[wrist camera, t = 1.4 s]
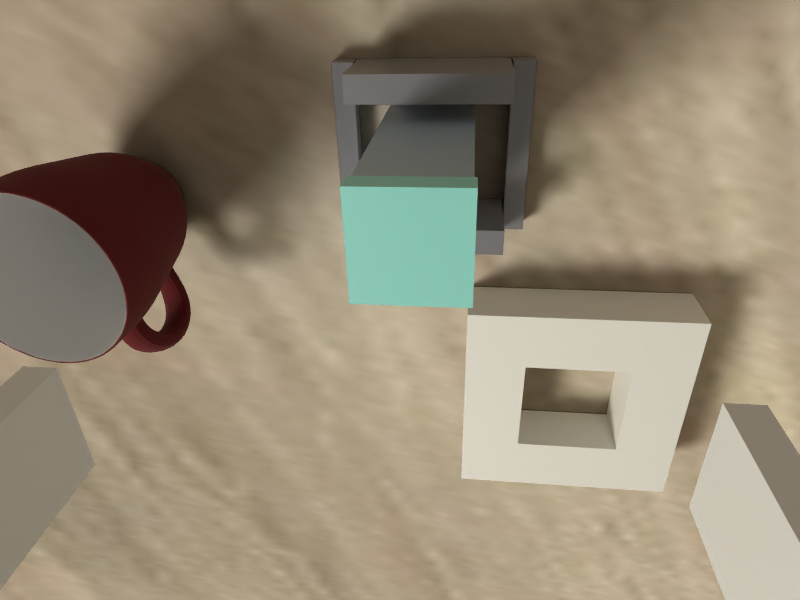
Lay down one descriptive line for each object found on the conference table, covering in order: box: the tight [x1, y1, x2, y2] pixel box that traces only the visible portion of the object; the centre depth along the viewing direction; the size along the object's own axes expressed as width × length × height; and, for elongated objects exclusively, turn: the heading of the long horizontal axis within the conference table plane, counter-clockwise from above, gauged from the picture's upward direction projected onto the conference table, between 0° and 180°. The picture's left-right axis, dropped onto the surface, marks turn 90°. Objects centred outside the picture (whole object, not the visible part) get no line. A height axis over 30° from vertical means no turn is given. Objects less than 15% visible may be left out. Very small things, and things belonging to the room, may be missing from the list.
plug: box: [340, 104, 478, 308], centre depth 24 cm, size 4×4×12 cm
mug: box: [0, 153, 191, 363], centre depth 28 cm, size 11×8×10 cm
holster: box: [331, 57, 537, 255], centre depth 27 cm, size 8×9×4 cm
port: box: [462, 287, 712, 492], centre depth 34 cm, size 12×12×3 cm
